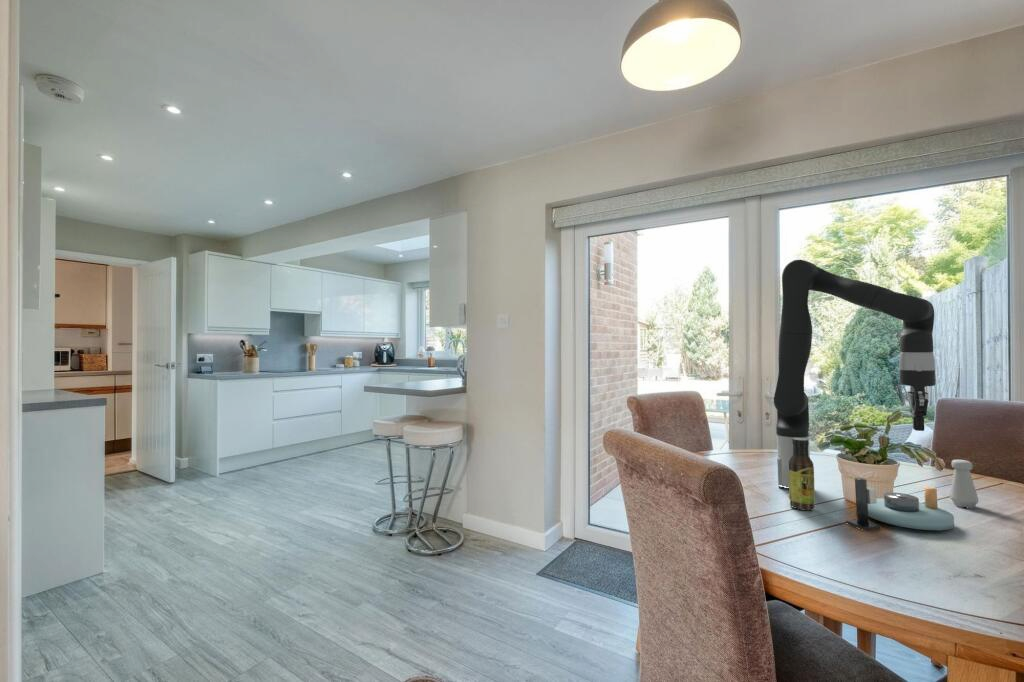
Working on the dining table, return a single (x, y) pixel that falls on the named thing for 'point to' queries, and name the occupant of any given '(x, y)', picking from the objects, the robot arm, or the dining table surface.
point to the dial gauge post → (863, 505)
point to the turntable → (915, 514)
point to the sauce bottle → (801, 476)
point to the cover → (901, 502)
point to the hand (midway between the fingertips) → (918, 430)
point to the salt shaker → (963, 485)
